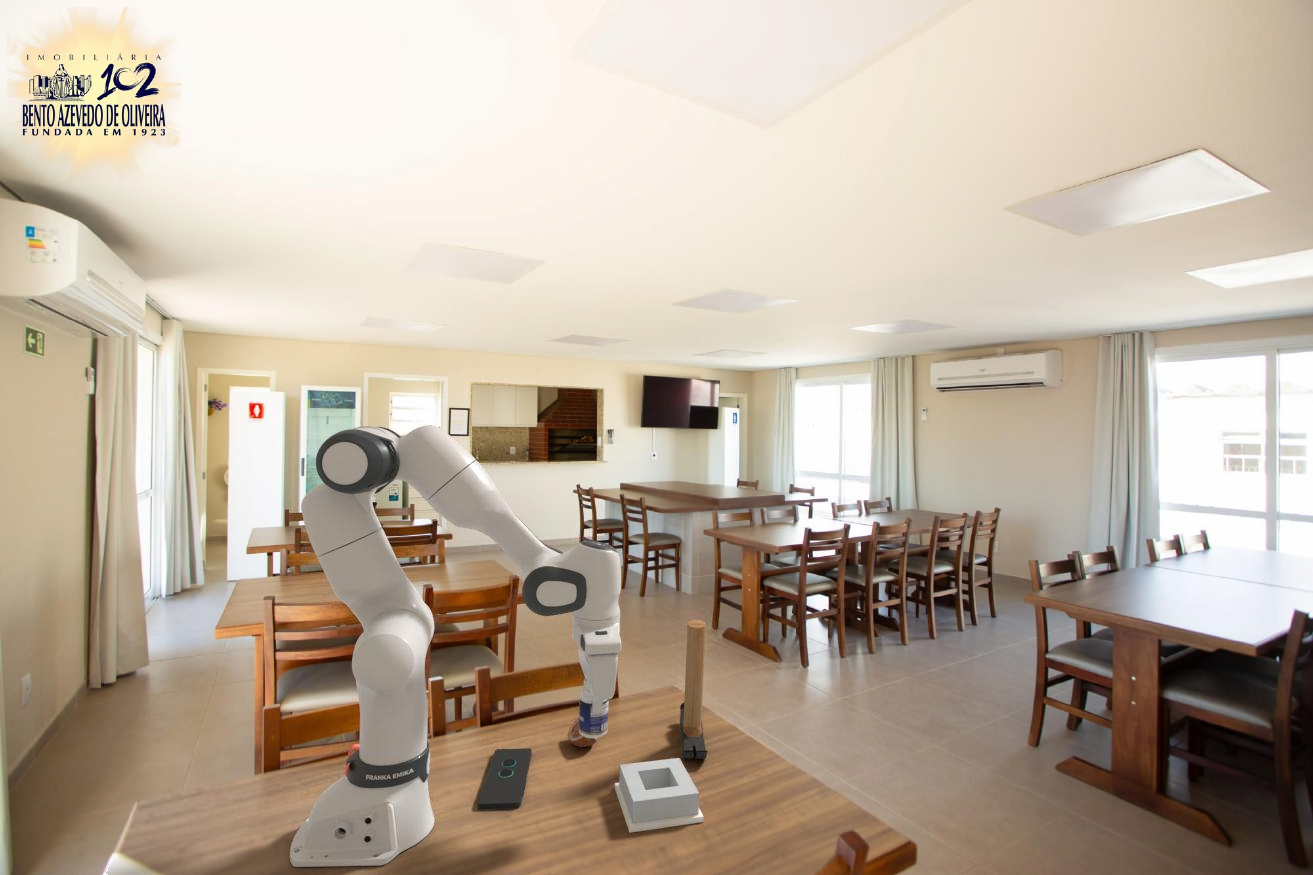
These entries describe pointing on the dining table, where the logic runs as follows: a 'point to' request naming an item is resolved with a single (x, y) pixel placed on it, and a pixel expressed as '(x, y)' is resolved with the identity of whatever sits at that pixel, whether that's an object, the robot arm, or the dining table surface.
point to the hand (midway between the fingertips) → (593, 703)
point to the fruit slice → (579, 736)
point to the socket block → (657, 795)
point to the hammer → (693, 693)
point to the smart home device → (505, 779)
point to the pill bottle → (591, 716)
